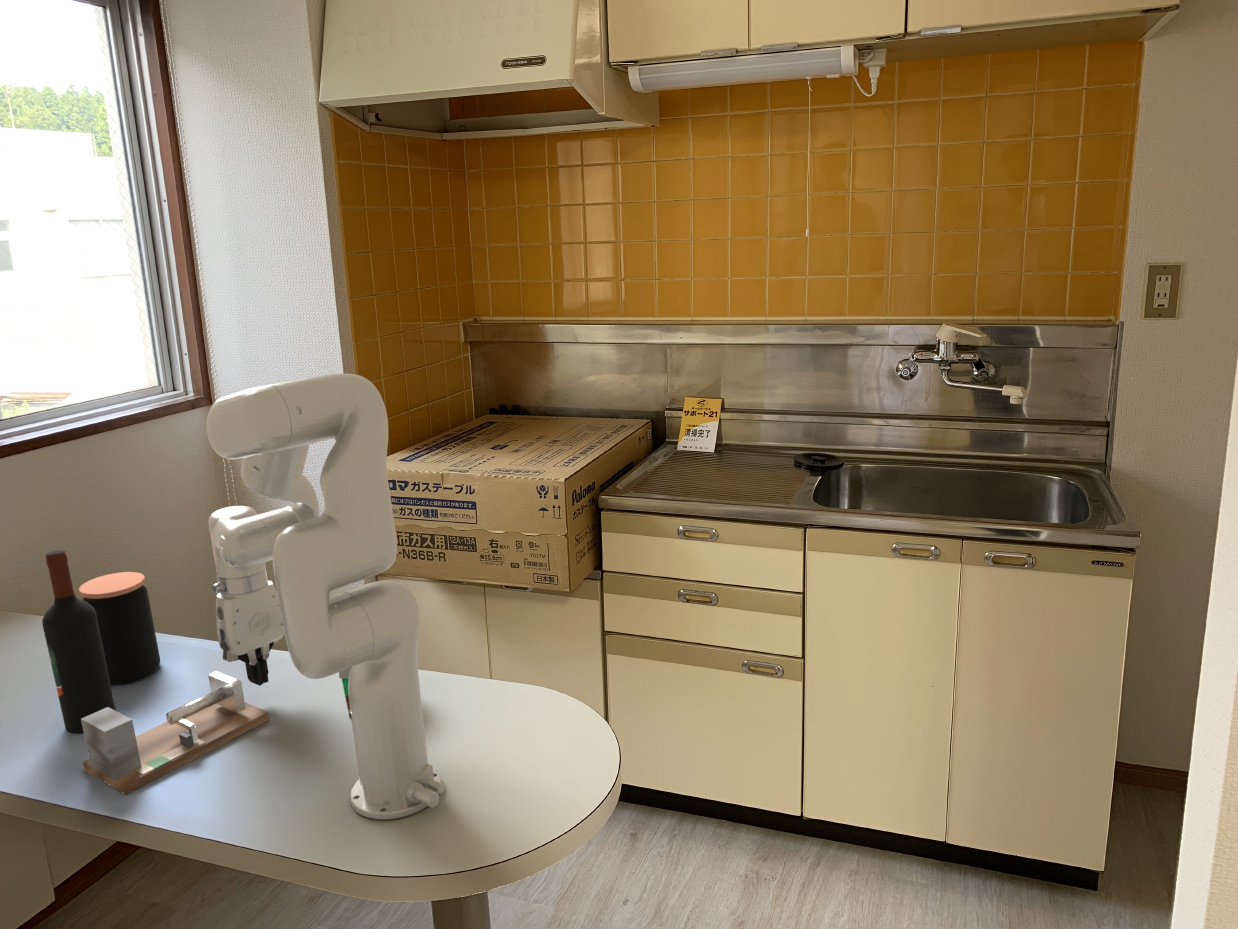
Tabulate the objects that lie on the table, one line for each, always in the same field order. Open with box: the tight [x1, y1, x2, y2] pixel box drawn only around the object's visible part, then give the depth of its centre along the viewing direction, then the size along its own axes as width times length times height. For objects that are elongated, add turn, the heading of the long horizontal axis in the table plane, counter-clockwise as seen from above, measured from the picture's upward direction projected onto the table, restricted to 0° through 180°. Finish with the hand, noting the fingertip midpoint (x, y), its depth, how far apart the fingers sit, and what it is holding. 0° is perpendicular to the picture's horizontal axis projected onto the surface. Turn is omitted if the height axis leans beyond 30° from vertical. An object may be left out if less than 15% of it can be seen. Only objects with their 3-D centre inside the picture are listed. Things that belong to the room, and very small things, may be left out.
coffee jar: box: [78, 571, 161, 686], centre depth 172 cm, size 11×11×18 cm
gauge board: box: [81, 702, 270, 795], centre depth 148 cm, size 12×24×10 cm, turn 145°
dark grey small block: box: [179, 731, 194, 748], centre depth 145 cm, size 2×1×2 cm, turn 55°
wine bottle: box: [42, 549, 117, 735], centre depth 153 cm, size 8×8×30 cm
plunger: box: [165, 670, 246, 742], centre depth 151 cm, size 8×11×5 cm
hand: (259, 681), depth 160 cm, fingers closed
